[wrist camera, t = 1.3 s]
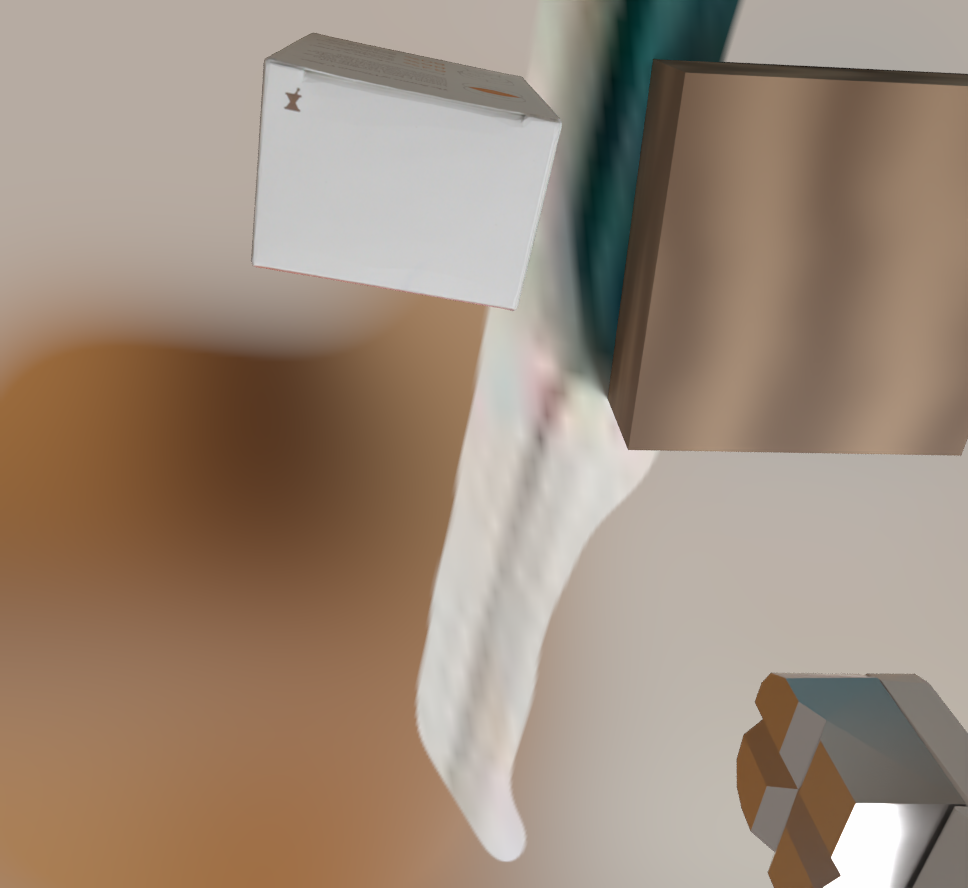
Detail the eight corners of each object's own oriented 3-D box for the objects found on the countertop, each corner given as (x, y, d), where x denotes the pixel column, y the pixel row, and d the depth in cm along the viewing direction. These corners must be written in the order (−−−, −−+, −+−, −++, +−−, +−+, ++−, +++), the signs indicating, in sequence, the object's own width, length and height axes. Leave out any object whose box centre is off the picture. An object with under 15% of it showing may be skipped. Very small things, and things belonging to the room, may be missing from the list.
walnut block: (1009, 75, 32) (1097, 92, 28) (903, 401, 39) (961, 455, 35) (650, 58, 32) (685, 72, 27) (606, 395, 38) (628, 449, 34)
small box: (295, 184, 33) (240, 269, 24) (310, 27, 30) (255, 54, 21) (496, 223, 34) (519, 318, 25) (528, 75, 31) (566, 120, 22)
